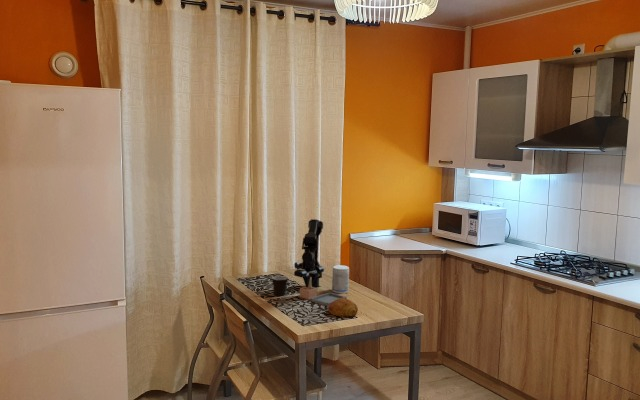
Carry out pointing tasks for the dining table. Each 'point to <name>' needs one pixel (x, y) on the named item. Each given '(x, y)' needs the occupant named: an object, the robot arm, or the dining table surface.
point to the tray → (326, 298)
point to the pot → (308, 292)
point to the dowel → (309, 284)
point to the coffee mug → (279, 285)
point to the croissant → (343, 307)
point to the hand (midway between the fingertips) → (308, 286)
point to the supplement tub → (340, 279)
